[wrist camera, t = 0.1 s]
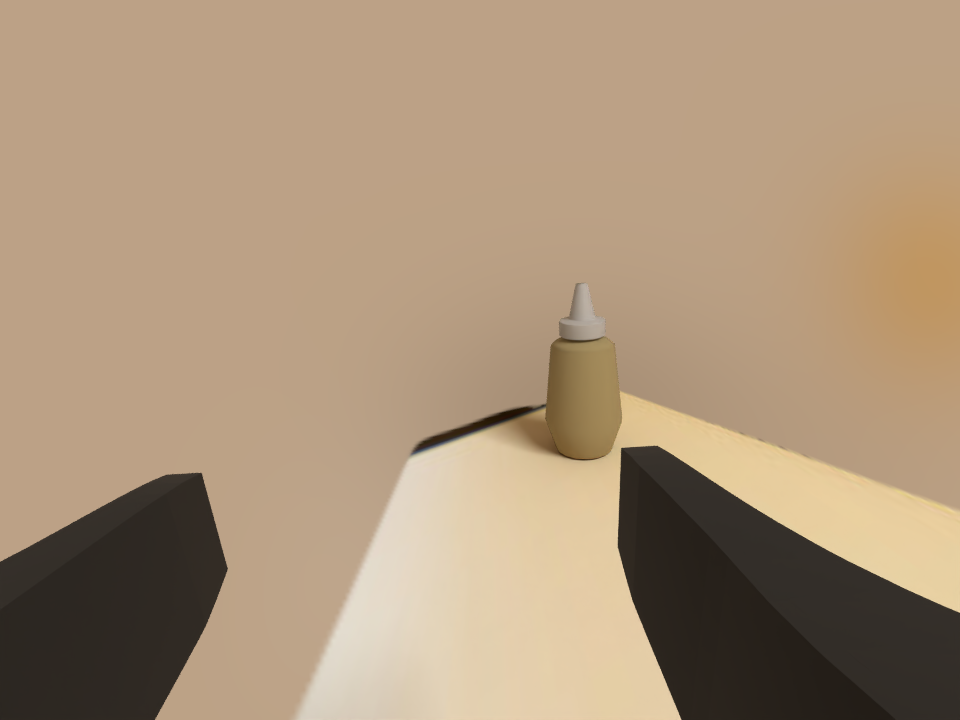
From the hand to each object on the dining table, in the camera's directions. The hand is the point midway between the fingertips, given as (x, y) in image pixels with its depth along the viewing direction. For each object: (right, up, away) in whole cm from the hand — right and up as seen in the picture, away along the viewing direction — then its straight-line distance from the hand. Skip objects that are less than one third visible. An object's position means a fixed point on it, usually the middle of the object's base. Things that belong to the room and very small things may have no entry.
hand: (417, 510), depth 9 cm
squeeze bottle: (+12, -7, +50) cm, 52 cm away
